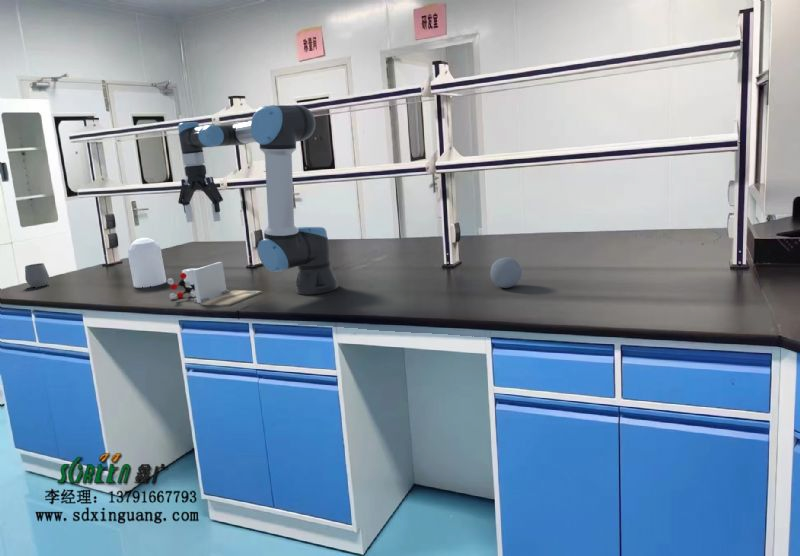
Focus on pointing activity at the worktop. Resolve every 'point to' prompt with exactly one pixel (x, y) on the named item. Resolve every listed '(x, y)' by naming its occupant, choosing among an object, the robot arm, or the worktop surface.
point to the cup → (36, 275)
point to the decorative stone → (505, 272)
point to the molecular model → (184, 284)
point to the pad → (230, 298)
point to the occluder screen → (209, 282)
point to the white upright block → (189, 275)
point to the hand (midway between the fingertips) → (203, 221)
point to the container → (146, 263)
